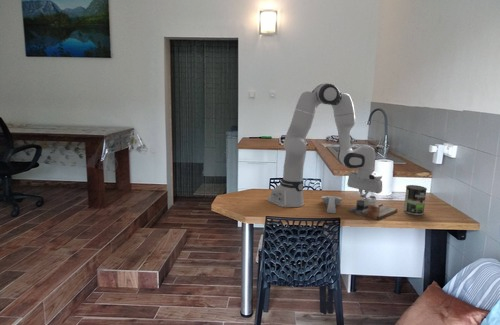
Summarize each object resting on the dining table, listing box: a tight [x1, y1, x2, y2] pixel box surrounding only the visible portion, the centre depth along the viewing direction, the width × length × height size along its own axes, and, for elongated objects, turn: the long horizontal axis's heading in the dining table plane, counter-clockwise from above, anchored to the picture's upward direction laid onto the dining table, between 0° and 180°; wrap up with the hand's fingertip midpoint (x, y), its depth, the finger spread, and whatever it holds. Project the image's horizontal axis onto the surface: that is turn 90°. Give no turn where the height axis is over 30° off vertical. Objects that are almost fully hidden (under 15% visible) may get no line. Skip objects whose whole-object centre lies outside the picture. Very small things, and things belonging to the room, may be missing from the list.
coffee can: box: [403, 184, 427, 216], centre depth 205 cm, size 10×10×14 cm
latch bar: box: [355, 195, 377, 208], centre depth 207 cm, size 16×4×4 cm, turn 134°
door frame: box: [348, 203, 398, 221], centre depth 204 cm, size 17×21×6 cm
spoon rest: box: [321, 195, 343, 214], centre depth 210 cm, size 24×12×7 cm, turn 169°
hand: (363, 197), depth 215 cm, fingers closed
